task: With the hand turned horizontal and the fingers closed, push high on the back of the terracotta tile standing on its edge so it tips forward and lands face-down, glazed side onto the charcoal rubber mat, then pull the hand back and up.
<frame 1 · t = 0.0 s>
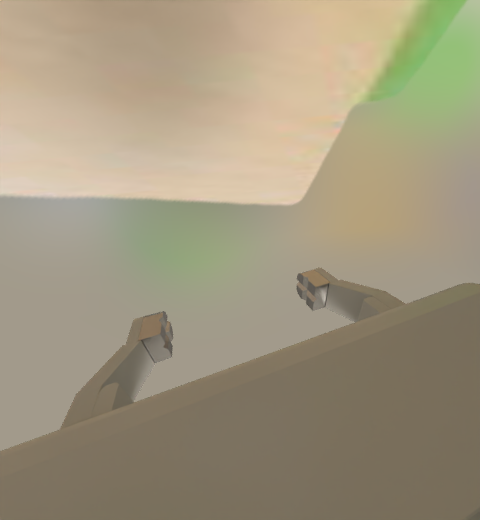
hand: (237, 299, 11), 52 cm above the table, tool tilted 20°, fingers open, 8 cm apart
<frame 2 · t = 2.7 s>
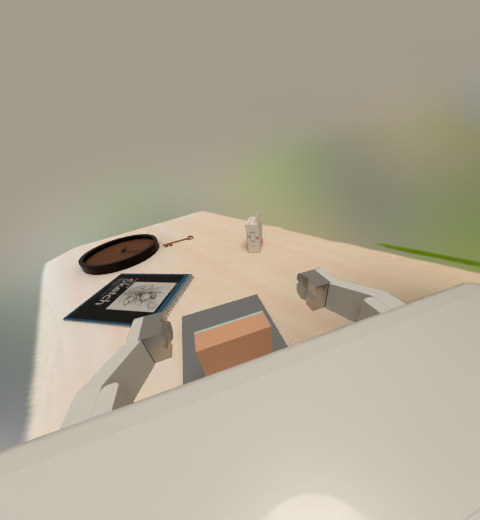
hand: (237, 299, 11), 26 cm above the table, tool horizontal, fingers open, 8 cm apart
ink cartridge box: (255, 248, 74), on the table
tile: (242, 379, 31), point 1 cm above the table, touching mat
wall clock: (124, 256, 83), on the table
sketchbook: (136, 298, 55), on the table
key: (179, 243, 89), on the table
mat: (231, 342, 38), on the table
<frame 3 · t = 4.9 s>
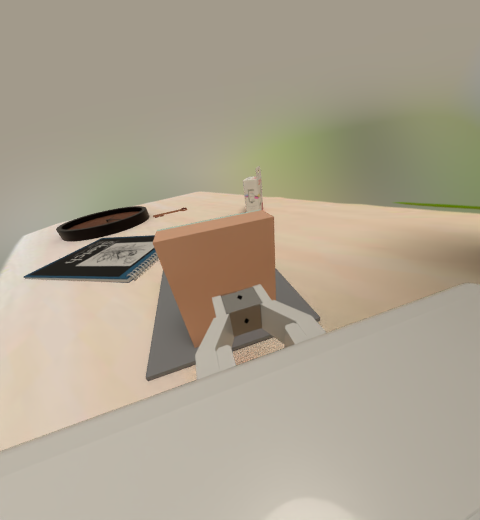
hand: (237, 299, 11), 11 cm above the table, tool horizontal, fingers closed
ink cartridge box: (255, 213, 65), on the table
tile: (234, 324, 22), point 1 cm above the table, touching mat
wall clock: (110, 226, 75), on the table
sketchbook: (115, 258, 47), on the table
key: (171, 214, 81), on the table
mat: (222, 289, 29), on the table
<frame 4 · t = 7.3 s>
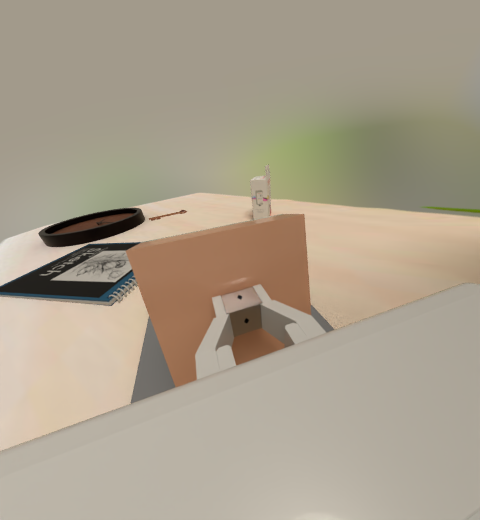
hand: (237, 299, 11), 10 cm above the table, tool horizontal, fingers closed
ink cartridge box: (262, 217, 58), on the table
tile: (251, 383, 15), point 1 cm above the table, tilted 13°, touching mat
wall clock: (101, 229, 68), on the table
sketchbook: (100, 269, 40), on the table
key: (169, 217, 74), on the table
mat: (230, 321, 22), on the table
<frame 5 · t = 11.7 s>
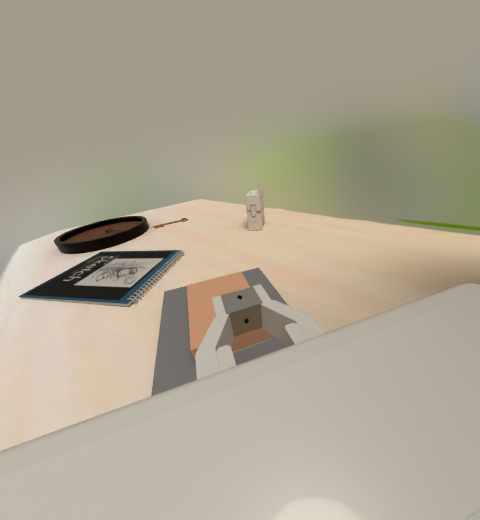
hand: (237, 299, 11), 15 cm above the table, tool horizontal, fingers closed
ink cartridge box: (256, 227, 65), on the table
tile: (234, 344, 22), point 2 cm above the table, tilted 90°, touching mat
wall clock: (109, 237, 74), on the table
sketchbook: (114, 275, 46), on the table
key: (171, 225, 80), on the table
mat: (225, 319, 28), on the table
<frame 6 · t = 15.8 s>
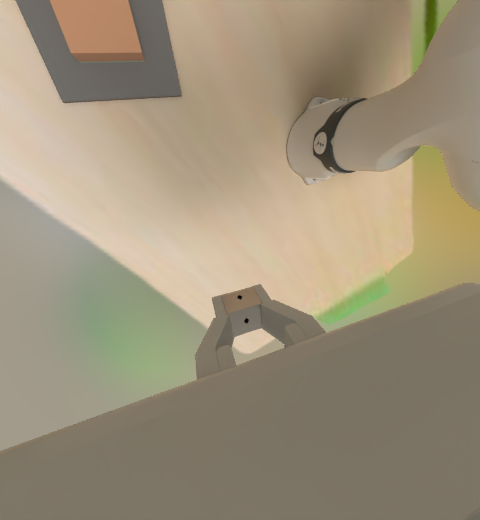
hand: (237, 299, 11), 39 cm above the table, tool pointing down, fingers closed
tile: (110, 57, 29), point 2 cm above the table, tilted 90°, touching mat
mat: (96, 6, 28), on the table
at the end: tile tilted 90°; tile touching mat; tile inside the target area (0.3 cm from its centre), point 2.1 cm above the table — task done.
